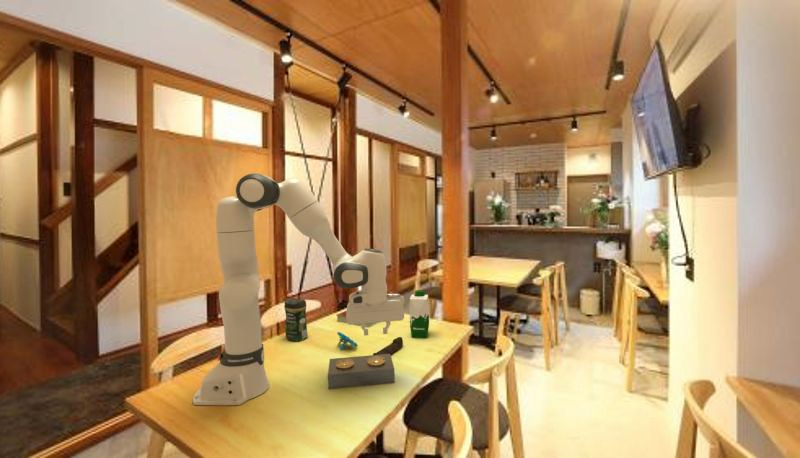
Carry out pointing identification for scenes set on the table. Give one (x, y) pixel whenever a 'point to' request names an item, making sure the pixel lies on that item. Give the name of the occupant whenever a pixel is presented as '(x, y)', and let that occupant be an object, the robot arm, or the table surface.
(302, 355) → the table surface
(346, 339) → the teal cog wheel
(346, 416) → the table surface
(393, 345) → the hand tool
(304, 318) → the coffee jar
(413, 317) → the milk carton
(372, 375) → the block
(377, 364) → the tan dome cap
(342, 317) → the hardcover book
